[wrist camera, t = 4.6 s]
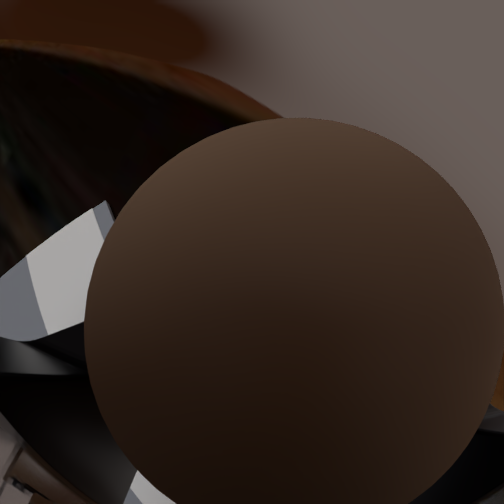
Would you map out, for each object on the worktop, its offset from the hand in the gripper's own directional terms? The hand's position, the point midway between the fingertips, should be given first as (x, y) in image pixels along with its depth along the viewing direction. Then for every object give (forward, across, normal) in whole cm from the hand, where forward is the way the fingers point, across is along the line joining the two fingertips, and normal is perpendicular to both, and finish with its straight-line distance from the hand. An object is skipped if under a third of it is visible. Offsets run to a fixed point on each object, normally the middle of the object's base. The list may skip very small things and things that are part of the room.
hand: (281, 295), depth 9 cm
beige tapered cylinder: (+4, 0, +6) cm, 7 cm away
